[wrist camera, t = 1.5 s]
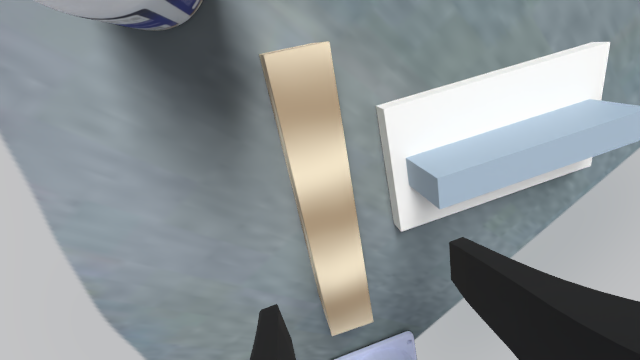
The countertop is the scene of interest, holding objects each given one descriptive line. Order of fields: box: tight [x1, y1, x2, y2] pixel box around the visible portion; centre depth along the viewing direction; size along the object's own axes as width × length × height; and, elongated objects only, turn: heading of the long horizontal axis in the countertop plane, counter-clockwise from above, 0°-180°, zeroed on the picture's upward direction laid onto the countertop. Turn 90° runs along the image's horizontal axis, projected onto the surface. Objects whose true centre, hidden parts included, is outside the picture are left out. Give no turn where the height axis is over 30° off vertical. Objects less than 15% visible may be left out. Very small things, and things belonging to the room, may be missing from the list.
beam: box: [259, 42, 373, 336], centre depth 19 cm, size 18×3×4 cm, turn 11°
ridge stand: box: [376, 42, 640, 232], centre depth 20 cm, size 9×16×5 cm, turn 103°
